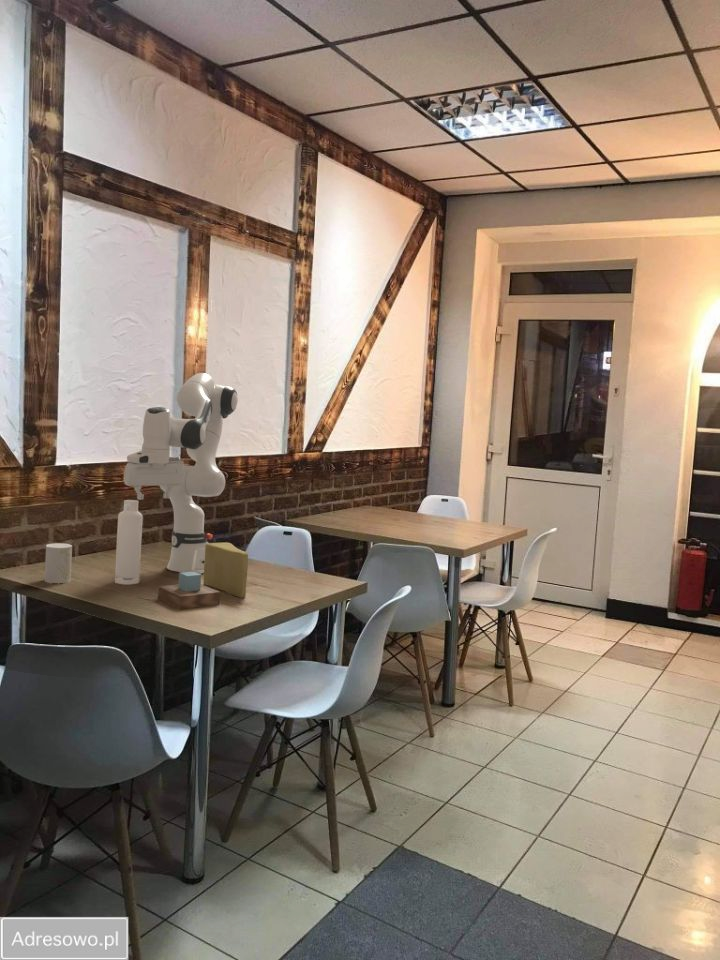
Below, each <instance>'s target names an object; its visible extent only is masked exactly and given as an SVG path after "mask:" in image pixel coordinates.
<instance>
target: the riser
mask: <svg viewBox="0 0 720 960" xmlns="http://www.w3.org/2000/svg"><path fill="white" fill-rule="evenodd" d="M157 600H159V601H161V602H163V603H165V604H168V605H170V606H172V607H174V608H177V609H179V610H186V609H194V608H200V607H201V608H202V607H207V606H216V605H220V600H221V591H219V590H218V589H215V588H213V587H210V586H208V585H205V584H202V583H201V587H200V590H197V591H188V592H186V591H184V590H181V589H179V588H178V584H170V585H161V586H160V585H159V586H158V588H157Z"/></svg>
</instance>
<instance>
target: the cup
mask: <svg viewBox="0 0 720 960" xmlns="http://www.w3.org/2000/svg"><path fill="white" fill-rule="evenodd" d="M72 553H73V545H72V544H70V543H57V542H55V543H47V544H46V545H45V559H44V560H45V561H44V562H45V563H44V582H45V583H46V582H47V584H52V583H58V584H59V583H63V584H67V582H68V583H70V582H71V581H72V579H71V578H72V577H71V576H72V575H71V574H72V560H73V559H72V558H73V557H72V555H73V554H72ZM58 584H57V585H58ZM59 585H60V584H59Z"/></svg>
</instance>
